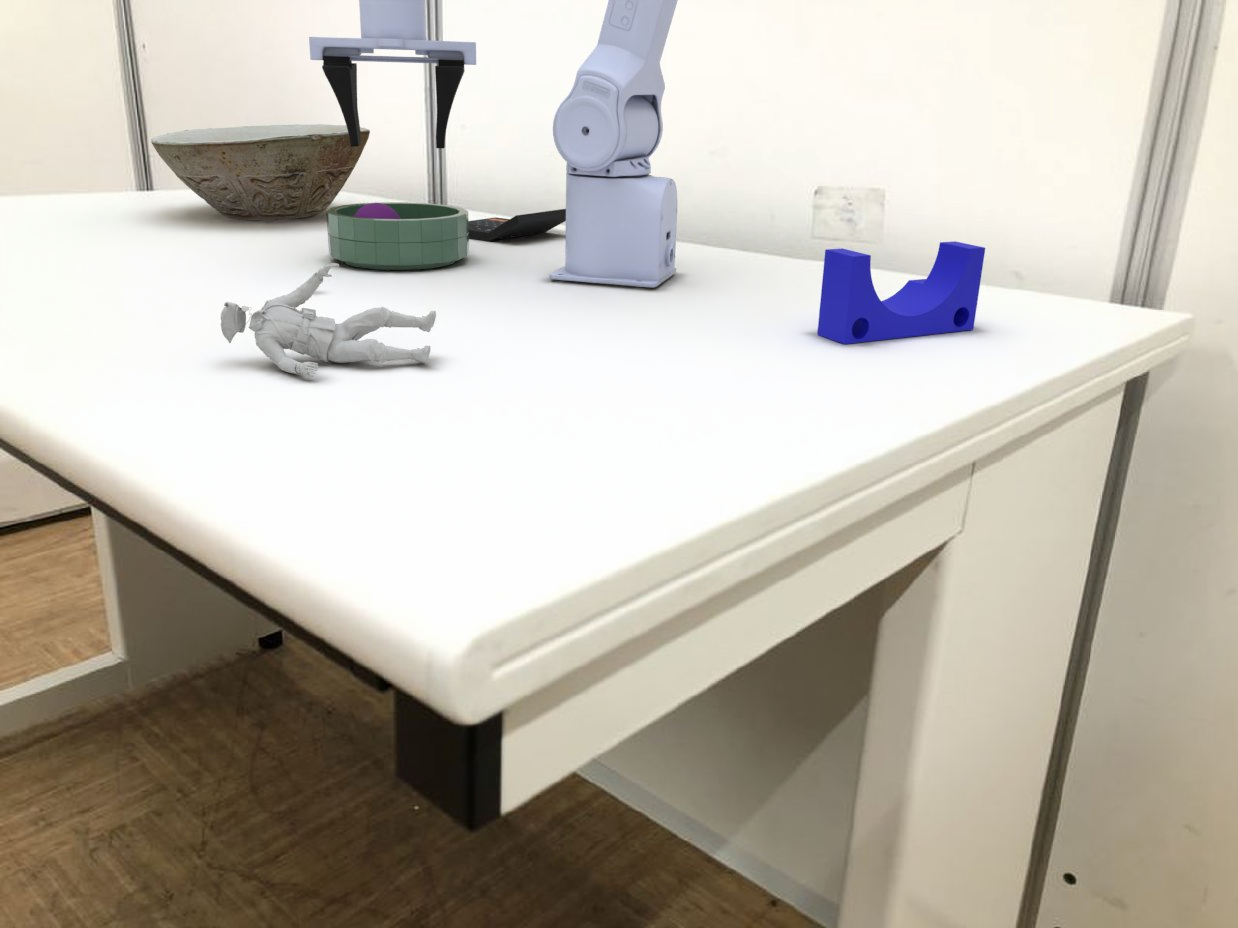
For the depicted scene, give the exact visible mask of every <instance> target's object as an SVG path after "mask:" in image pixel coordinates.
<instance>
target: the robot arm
mask: <svg viewBox="0 0 1238 928" xmlns="http://www.w3.org/2000/svg"><path fill="white" fill-rule="evenodd" d="M358 2H359V3H358V5H359V21H360V22H359V25H360V37H331V36H330V37H327V36H308V40H309V41H308V45H309V57H310V61H322V66H321V68H322V71H323V73H324V76H325V77H326V79H327V81H328V83H329V86H330V88H331V89H332V91H333V94H334V96H335V98H336V100H337V102H338V105H339V108H340V110H341V113H342V116H343V119H344V122H345V125H346V126H347V129H348V134H349V138H350V144H351V147H359V146H360V145H361V132H360V127H361V126H360V118H359V109H358V64H357V62H374V63H375V62H377V63H404V64H405V63H408V64H438V65H435V66H434V72H435V91H436V92H435V93H436V96H435V97H436V126H435V148H436V149H445V147H446V135H447V128H448V123H449V118H450V115H451V112H452V111H451V110H452V108H453V107H452V106H453V103H454V101H455V97H456V94H457V91H458V89H459V86H460V83H461V81H462V79H463V76H464V74H465V65H466V66H467V65H468V66H477V42H476V41H457V40H455V41H454V40H452V41H451V40H431V39H430V40H427V20H426V19H427V18H426V17H427V16H426V15H427V14H426V0H358ZM677 4H678V0H608V2H607V5H606V10H605V14H604V17H603V20H602V24H601V28H600V33H599V37H598V39H597V44H596V46H595V47H594V49H593V50H592V51H591V53H590V54H589V55H588V56H587V58H586V59H585V60H584V61H583V62H582V64H581V65H580V67H578V69H577V71H576V75H575V80H574V83H573V86H572V88H571V90H570V92H569V93H568V95H567V96H566V97H565V98H564V99H563V100H562V102H561V103H560V104H559V106H558V107H557V109H556V112H555V114H554V118H553V123H552V136H553V142H554V144H555V145H554V146H555V147H556V150H557V151H558V153H559V155H560V156H561V158H562V159H563V160H564V162H566V166H565V172H566V173H565V209H566V221H565V251H564V252H565V254H564V256H565V260H564V261H565V262H564V266H562V267H560V268H558V269H557V270H555V271H552V272H551V273H549V275H548V276H549V279H550V280H555V281H568V282H579V283H592V284H601V285H602V284H603V285H614V286H627V287H637V288H638V287H640V288H649V289H650V288H656V287H658V286H660V285H661V284H662V283H664V282H665V281H666V280H668V279H670V278H671V277H672V276H673V275H675V274H676V273H677V268H676V249H677V246H676V245H677V228H678V227H677V226H678V225H677V224H678V190H677V185H676V184H677V183H676V182H675V180H674V179H673V178H672V177H667V176H666V177H665V176H664V177H663V176H654V175H652V174H651V172H652V166H651V162H650V157H651V156H652V155H653V154H654V153H655V151H656V150H657V149H658V148H659V145H660V143H661V140H662V137H663V131H664V123H663V116H662V100H663V97H664V94H665V89H666V82H665V80H664V76H663V71H662V68H661V60H662V57H663V53H664V49H665V46H666V43H667V39H668V37H669V36H668V35H669V32H670V28H671V25H672V21H673V18H674V16H675V11H676V9H677ZM374 50H393V51H395V50H398V51H415V52H414V53H415V55H417V56H395V55H394V56H393V55H392V56H391V55H364V54H374V53H375V51H374ZM362 54H363V55H362ZM425 56H427V57H425Z"/></svg>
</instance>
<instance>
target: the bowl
mask: <svg viewBox="0 0 1238 928" xmlns="http://www.w3.org/2000/svg"><path fill="white" fill-rule="evenodd" d="M360 132H361V145H360V146H359V147H351V144H350V138H349V134H348V129H347V126H346V124H345V125H343V124H342V125H341V124H271V125H270V124H269V125H247V126H246V125H245V126H242V125H241V126H233V127H232V126H231V127H215V128H213V127H212V128H210V127H209V128H195V129H185V130H181V131H176V132H169V133H165V134H163V135H158V136H154V137H152V138H150V139H151V140H150V141H151V145H152V146H153V149H155V151H156V153H157V154H158V156H159V157H160V158H161V160H162V161H163V162H164V163H165V164H166V166H168V168H169V169H170V170H171V171H172V172H173V173H174V174H175V176H176V177H177V178H178V179H179V180H180V181H181V182H182V183H183V184H184V185H185V186H186V187H187V188H189V189H190V190H191V191H192V192H193V193H194V194H196V195H197V197H199V198H201V199H202V200H204V201H205V202H206V203H207V204H208V205H209V206H210V207H211V208H212V209H214V210H215V211H216V212H218V213H219V214H221V215H222V216H224V217H227V218H230V219H236V220H243V221H269V220H270V221H271V220H272V221H274V220H276V221H277V220H289V219H299V218H305V217H311V216H315V215H316V216H317V215H319V214H321V213H324V211H326V210H327V208H329V206H330V205H331V204H332V203H333V202H334V200H335V199H336V198H337V196H338V194H339V193H340V192H341V191H342V189H343V187H344V186H345V185H346V182H347V181H348V179H349V178H350V176H351V174H352V172H353V171H354V169H355V167H356V165H357V163H358V161H359V159H360V158H361V155H362V154H363V152H364V149H365V147H366V145H367V143H368V140H369V138H370V135H371V134H370V133H371V131H370V129H368V128H365V127H362V126H360Z"/></svg>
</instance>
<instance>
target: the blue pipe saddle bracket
mask: <svg viewBox="0 0 1238 928" xmlns="http://www.w3.org/2000/svg"><path fill="white" fill-rule="evenodd" d="M938 245H939V246H938V250H937V254H936V258H935V261H934V263H933V266H932V268H931V270H930V272H929V274H928V276H927V277H926V278H921V279H909V280H908V281H907V282H906V283H905V284H904V286H902V287H901V288H900V289H899V290H898V291H897V292H896V293H894V294H892V295H891V296H889V297H888V298H886V299H883V300H881V299H880V297H879V295H878V294H877V291H876V288H875V286H874V283H873V278H872V270H871V269H872V268H871V259H872V255H871V254H868V253H863V252H859V251H855V250H852V249H846V248H844V247H843V248H828V249H825V250H824V260H823V270H822V281H821V292H820V300H819V301H820V302H819V311H818V323H817V332H816V333H817V334H816V335H817V336H820V337H822V338H826V339H828V340H831V341H834V342H837V343H840V344H842V345H848V344H849V345H850V344H858V343H866V342H867V343H868V342H877V341H883V340H884V341H885V340H893V339H895V340H896V339H903V338H913V337H921V336H928V335H929V336H930V335H940V334H947V333H948V334H949V333H955V332H956V333H957V332H965V331H973V330H974V329H975V328H974V327H975V321H976V315H977V308H978V301H979V294H980V287H981V282H982V281H981V280H982V273H983V268H984V267H983V266H984V260H985V253H986V247H984V246H978V245H975V244H971V243H965V242H960V241H954V240H953V241H941V242H939V244H938Z"/></svg>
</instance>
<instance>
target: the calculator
mask: <svg viewBox="0 0 1238 928" xmlns="http://www.w3.org/2000/svg"><path fill="white" fill-rule="evenodd" d="M468 223H469V232H468V233H469V239H473V240H478V241H483V242H484V241H485V242H492V241H497V240H505V239H511V238H517V237H523V236H529V235H530V236H531V235H535V234H541V233H542V234H543V233H547V232H548V231H550V230H553V229H554V228H556V227H558V226H559V225H561V224H563V223H566V208H562V209H553V210H545V211H539V212H531V213H525V214H524V213H523V214H517V215H514V216H512V217H511V218H503V217H488V218H481V219H474V220H468Z"/></svg>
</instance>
